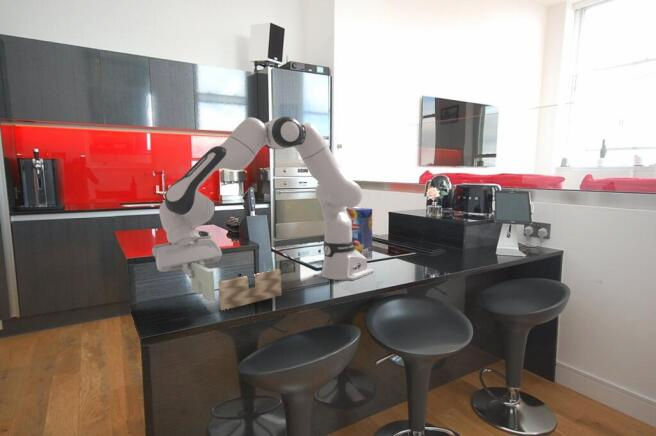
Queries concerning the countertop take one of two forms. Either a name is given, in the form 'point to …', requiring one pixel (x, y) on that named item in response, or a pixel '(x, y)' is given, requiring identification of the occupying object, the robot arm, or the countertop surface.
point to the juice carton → (362, 229)
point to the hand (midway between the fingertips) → (197, 276)
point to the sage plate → (203, 281)
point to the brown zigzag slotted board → (249, 289)
